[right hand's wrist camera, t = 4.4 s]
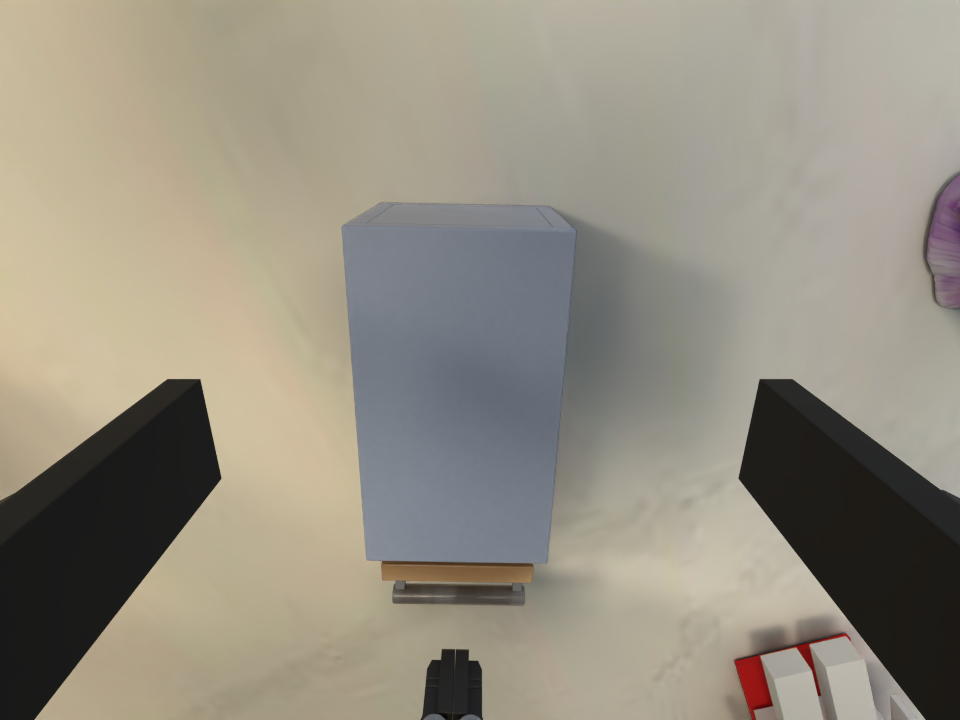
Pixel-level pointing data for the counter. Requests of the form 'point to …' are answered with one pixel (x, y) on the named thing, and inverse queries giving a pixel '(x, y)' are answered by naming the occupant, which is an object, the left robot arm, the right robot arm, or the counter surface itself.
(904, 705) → the toy
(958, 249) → the figurine
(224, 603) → the counter surface
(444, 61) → the counter surface
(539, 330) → the cabinet
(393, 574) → the drawer
